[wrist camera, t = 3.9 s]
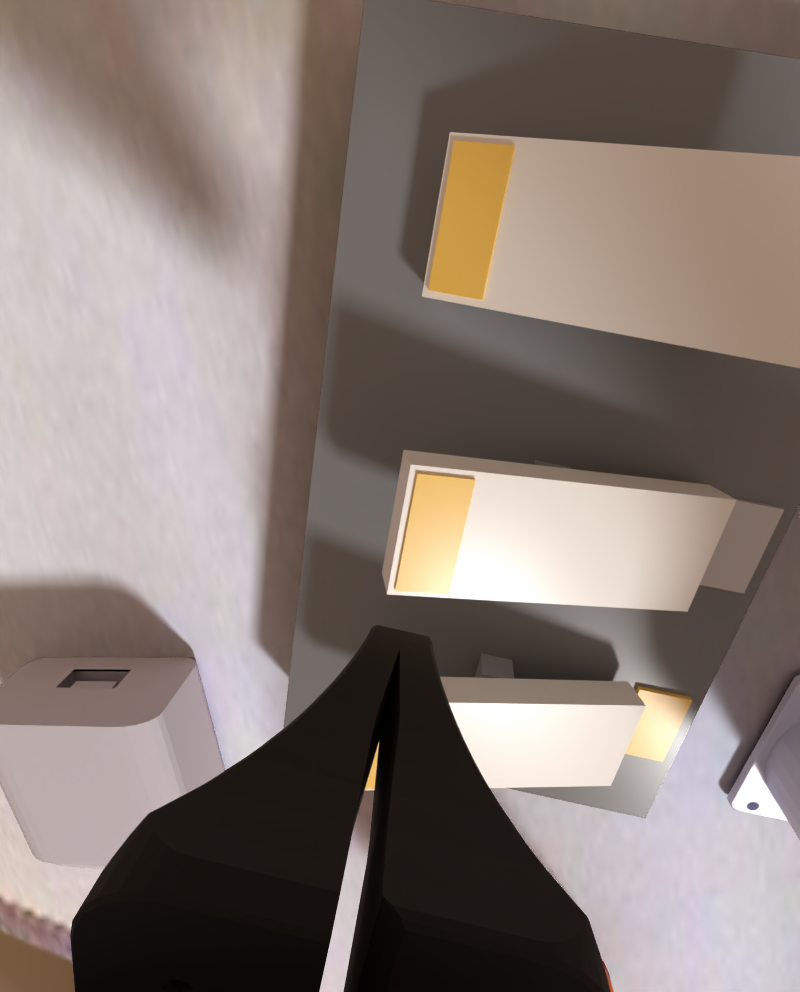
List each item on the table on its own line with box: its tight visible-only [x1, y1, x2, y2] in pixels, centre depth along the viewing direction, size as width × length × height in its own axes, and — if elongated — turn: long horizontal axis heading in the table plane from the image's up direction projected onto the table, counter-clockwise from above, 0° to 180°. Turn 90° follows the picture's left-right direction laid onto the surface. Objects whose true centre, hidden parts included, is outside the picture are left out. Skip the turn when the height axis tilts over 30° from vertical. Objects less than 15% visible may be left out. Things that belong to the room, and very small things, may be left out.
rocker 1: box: [422, 132, 800, 368], centre depth 13 cm, size 10×4×1 cm, turn 82°
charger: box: [0, 657, 225, 869], centre depth 27 cm, size 5×9×15 cm
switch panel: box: [284, 0, 800, 818], centre depth 19 cm, size 16×26×4 cm, turn 171°
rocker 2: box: [382, 450, 737, 612], centre depth 16 cm, size 10×4×1 cm, turn 80°
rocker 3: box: [365, 677, 646, 790], centre depth 19 cm, size 10×4×1 cm, turn 80°
